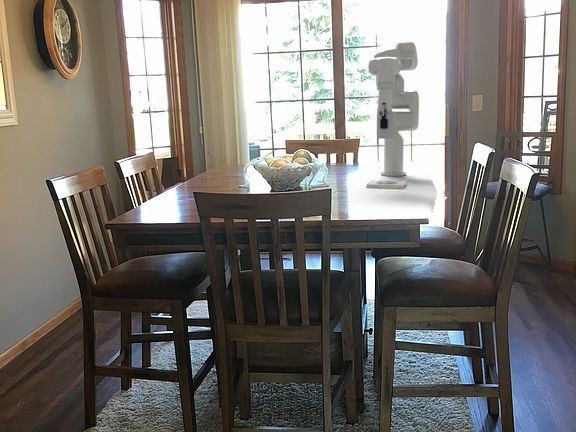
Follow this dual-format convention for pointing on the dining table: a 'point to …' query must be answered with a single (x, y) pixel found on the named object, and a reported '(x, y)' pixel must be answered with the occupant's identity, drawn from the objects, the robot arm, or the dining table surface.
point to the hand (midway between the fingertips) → (385, 127)
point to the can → (390, 130)
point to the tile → (386, 184)
